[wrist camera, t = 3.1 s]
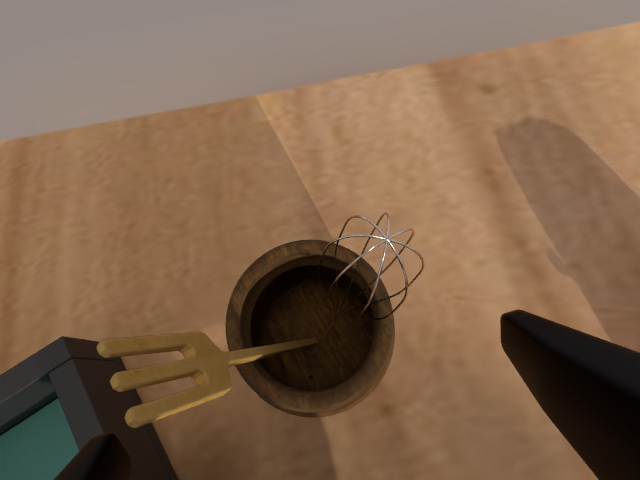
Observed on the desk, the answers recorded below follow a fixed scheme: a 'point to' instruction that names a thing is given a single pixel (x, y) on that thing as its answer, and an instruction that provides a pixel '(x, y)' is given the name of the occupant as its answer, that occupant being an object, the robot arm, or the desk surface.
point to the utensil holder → (283, 335)
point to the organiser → (69, 413)
